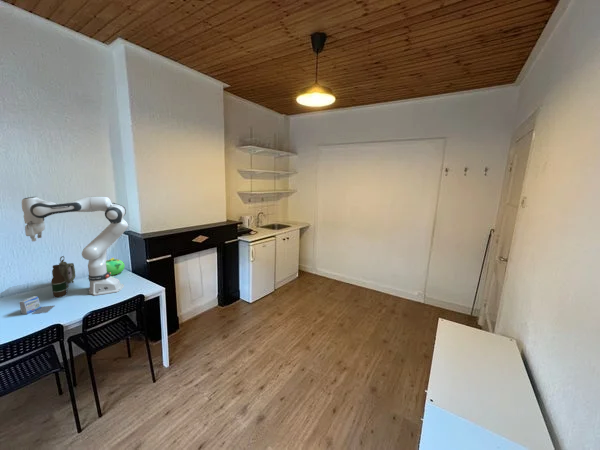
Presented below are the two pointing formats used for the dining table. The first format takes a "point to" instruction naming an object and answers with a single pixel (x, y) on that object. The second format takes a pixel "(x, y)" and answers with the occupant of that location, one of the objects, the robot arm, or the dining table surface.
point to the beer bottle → (58, 283)
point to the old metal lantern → (66, 271)
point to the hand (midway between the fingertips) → (37, 239)
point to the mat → (43, 309)
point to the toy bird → (114, 266)
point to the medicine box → (29, 305)
